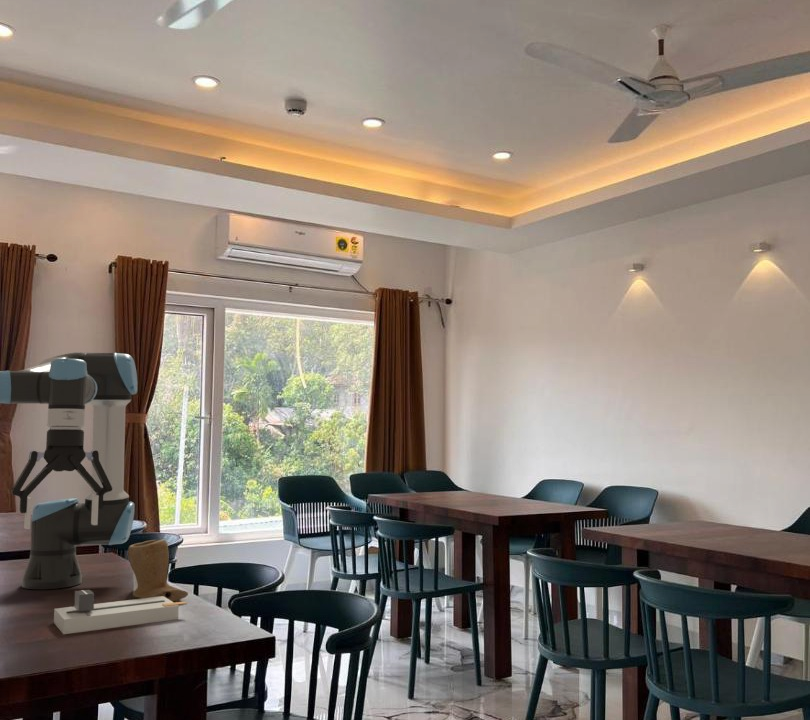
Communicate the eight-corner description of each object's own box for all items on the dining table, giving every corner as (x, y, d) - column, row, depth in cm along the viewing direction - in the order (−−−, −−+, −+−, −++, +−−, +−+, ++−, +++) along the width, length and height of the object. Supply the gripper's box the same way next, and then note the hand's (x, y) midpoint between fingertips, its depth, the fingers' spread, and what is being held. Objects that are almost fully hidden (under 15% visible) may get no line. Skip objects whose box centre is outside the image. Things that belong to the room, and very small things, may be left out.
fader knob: (74, 607, 169) (75, 590, 169) (88, 605, 170) (89, 589, 171) (78, 611, 165) (79, 594, 165) (93, 609, 166) (94, 593, 167)
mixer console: (53, 622, 169) (54, 607, 170) (171, 607, 184) (171, 594, 184) (63, 634, 159) (64, 618, 160) (187, 617, 174) (187, 603, 174)
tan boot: (119, 598, 194) (121, 538, 196) (165, 592, 202) (166, 534, 203) (141, 609, 183) (143, 545, 184) (189, 602, 190) (190, 540, 192)
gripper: (5, 428, 158) (-1, 532, 156) (128, 428, 173) (125, 524, 170) (0, 428, 165) (-6, 528, 162) (119, 429, 179) (116, 521, 176)
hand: (61, 526), depth 166 cm, fingers open, 13 cm apart
